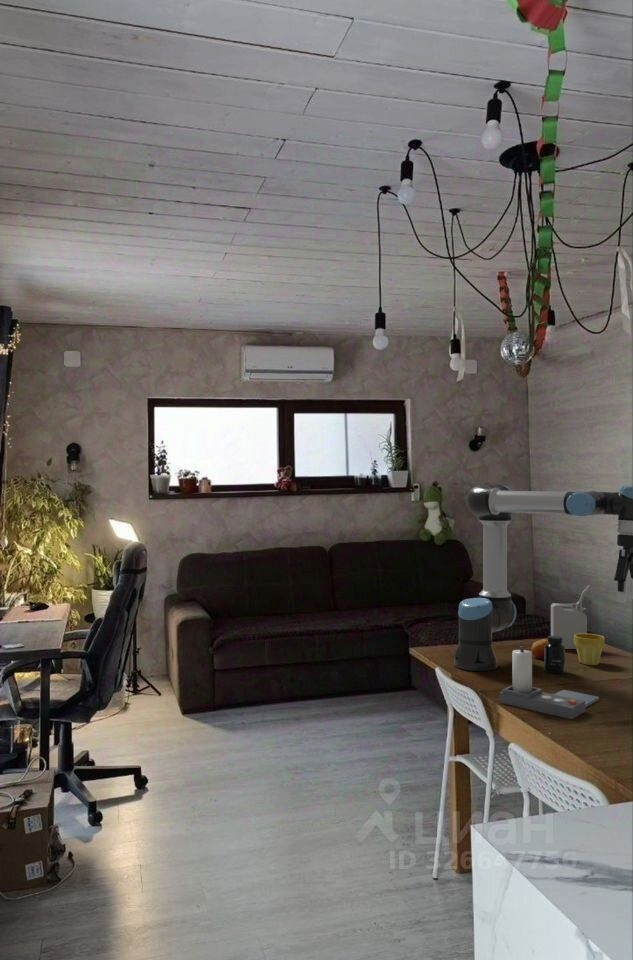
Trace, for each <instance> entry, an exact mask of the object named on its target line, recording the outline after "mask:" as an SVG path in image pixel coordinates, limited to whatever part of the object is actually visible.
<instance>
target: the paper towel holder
mask: <svg viewBox="0 0 633 960" xmlns="http://www.w3.org/2000/svg"><path fill="white" fill-rule="evenodd" d="M519 648H520V649H513V650H512V653H511V655H512V657H511V659H512V660H511V661H512V662H511V664H512V666H511V667H512V670H511V671H512V672H511V673H512V676H511V678H512V679H511V680H512V681H511V683H512V684H511V685H512V691H516V692H521V693H526V694H529V693H531V692H532V687H533V654H532V650H526V649H525V646H522V645H521V646H519Z"/></svg>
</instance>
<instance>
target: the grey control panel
mask: <svg viewBox="0 0 633 960" xmlns="http://www.w3.org/2000/svg"><path fill="white" fill-rule="evenodd" d="M498 693H499V699H498V700H499V703H500V704H502V705H503V704H504V705H508V706H513V707H517V708H521V709H526V710H528V711H529V710H530V711H533V712H538V713H539V712H540V713H543V714H547V715H551V716H556V717H559V718H560V717H561V718H564V719H569V720H573V719H575V718H577V717H579V716H580V715H582V714H584V713H585V712H586V707H585V701H582V700H578V699H573V698H568V697H563V696H559V695H554V694H555V693H549V692H544V691H543V689H542V688H540V687H534V686H532V692H531V693H529V694H526V693H521V692H516V691H512V684H511V685H509V686H507V687H505V688H502V691H500V692H498Z"/></svg>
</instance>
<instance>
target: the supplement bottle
mask: <svg viewBox="0 0 633 960" xmlns="http://www.w3.org/2000/svg"><path fill="white" fill-rule="evenodd" d="M547 640H548V644H546V645H545V653H544V659H543V660H544V664H543V666H544V668H543V669H544V671H545V672H546V673H549V674H554V675H560V674H561V675H562V674H564V673H565V672H566V650H565V647H564V646H563V645H562V637H559V636H551V635H548V636H547Z"/></svg>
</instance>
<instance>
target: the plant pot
mask: <svg viewBox="0 0 633 960" xmlns="http://www.w3.org/2000/svg"><path fill="white" fill-rule="evenodd" d="M605 642H606V641H605V636H603V635H600V634H594V633H587V634H586V633H582V634H575V635H574V644H575V645H576V648H577V650H576V652H577V657H578V658H577V659H578V662H579V663H580V664H582V665H588V666H598V665H599V664H600V660H601V656H602V651H603V648H605Z"/></svg>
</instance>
